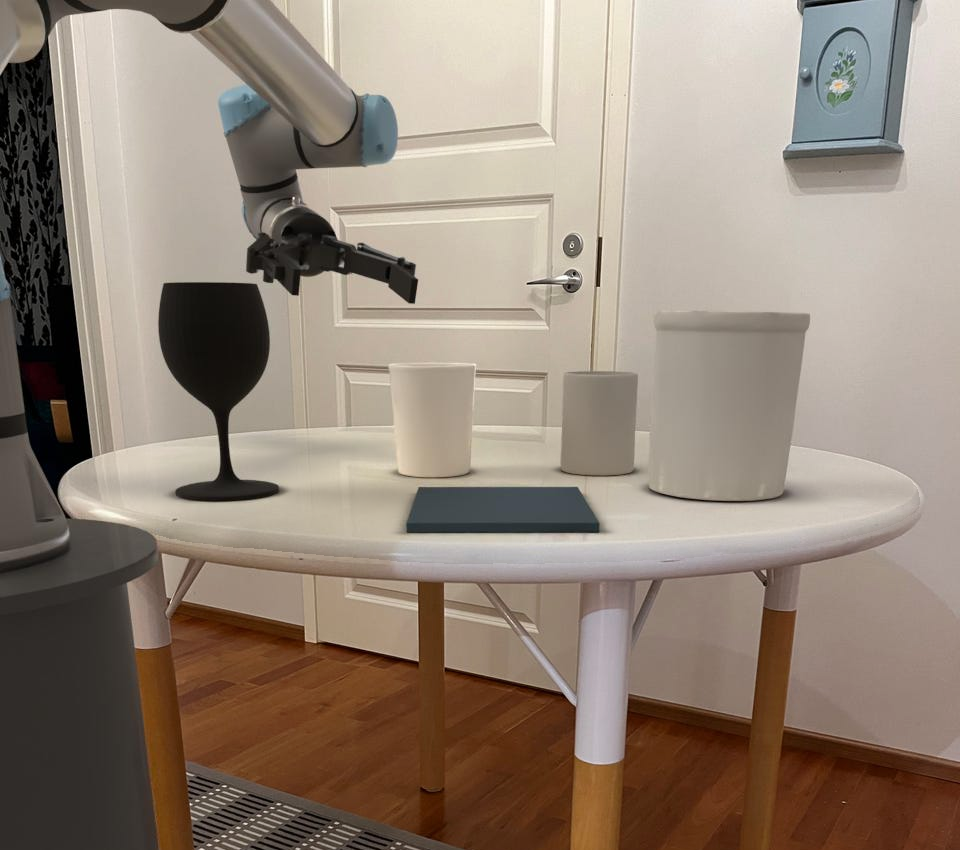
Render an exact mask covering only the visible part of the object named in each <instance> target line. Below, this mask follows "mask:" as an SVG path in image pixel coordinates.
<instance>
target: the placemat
mask: <svg viewBox="0 0 960 850" xmlns="http://www.w3.org/2000/svg"><path fill="white" fill-rule="evenodd" d="M411 505H412V506H411V509H410V511H409V515H408V517H407V520H406V523H405V524H406V526H405V527H406V533H599V532H600V522H599V520H598V518H597V516H596V515H595V513H594V512H593V510H592V508H591V507H590V505H589V503H588V502H587V500H586V498H585V497H584V495H583V493H582V492H581V490H580V488H579V487H578V486H418V488H417V491H416V494H415V497H414V500H413V503H412V504H411Z"/></svg>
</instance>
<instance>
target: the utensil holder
mask: <svg viewBox="0 0 960 850" xmlns="http://www.w3.org/2000/svg"><path fill="white" fill-rule="evenodd" d="M653 315H654V316H653V326H654V329H655V341H654V353H653V354H654V355H653V368H652V369H653V370H652V386H651V403H650V415H649V416H650V417H649V418H650V419H649V438H648V469H647V472H648V473H647V484H648V485H647V486H648V488H649V489H650V490H652V491H654V492H656V493H659V494H663V495H666V496H667V495H668V496H670V497H678V498H684V499H692V500H702V501H703V500H704V501H720V502H721V501H722V502H747V501H762V500H770V499H775V498H778V497H780V496H782V495H783V493H784V491H785V486H786V485H785V484H786V480H787V472H788V464H789V459H790V451H791V445H792V439H793V432H794V424H795V414H796V407H797V401H798V394H799V393H798V392H799V385H800V378H801V371H802V366H803V365H802V364H803V357H804V350H805V340H806V333H807V331H808V330H809V327H810V326H811V325H810V323H811V314H810V313H808V312H794V311H793V312H791V311H790V312H789V311H761V310H760V311H756V310H755V311H753V310H751V311H750V310H748V311H747V310H655V311H654V314H653Z"/></svg>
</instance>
